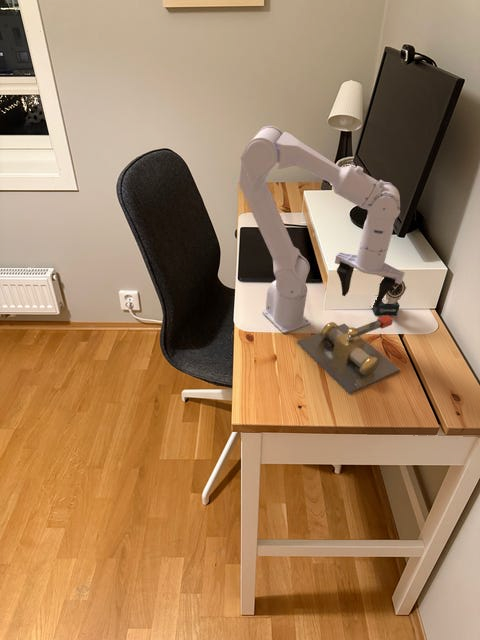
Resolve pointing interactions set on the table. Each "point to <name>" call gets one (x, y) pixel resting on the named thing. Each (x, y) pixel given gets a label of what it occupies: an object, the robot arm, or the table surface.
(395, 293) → the watch
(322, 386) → the table surface
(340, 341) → the valve
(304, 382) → the table surface
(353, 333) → the lever
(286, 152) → the robot arm
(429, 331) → the table surface
